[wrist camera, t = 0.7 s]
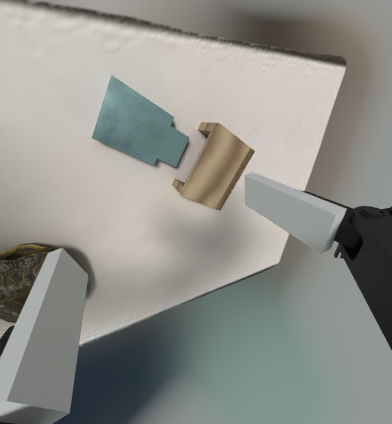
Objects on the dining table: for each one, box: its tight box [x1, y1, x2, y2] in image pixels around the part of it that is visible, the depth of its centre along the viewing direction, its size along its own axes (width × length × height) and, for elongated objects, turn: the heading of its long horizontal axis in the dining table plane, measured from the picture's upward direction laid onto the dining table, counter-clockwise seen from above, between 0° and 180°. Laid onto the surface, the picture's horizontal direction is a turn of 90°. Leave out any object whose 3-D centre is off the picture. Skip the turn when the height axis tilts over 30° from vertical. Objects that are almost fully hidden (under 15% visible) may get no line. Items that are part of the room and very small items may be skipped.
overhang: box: [172, 122, 255, 211], centre depth 35 cm, size 10×14×7 cm
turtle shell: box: [0, 244, 90, 323], centre depth 32 cm, size 16×9×20 cm
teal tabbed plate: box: [92, 75, 189, 167], centre depth 29 cm, size 14×9×3 cm, turn 59°
